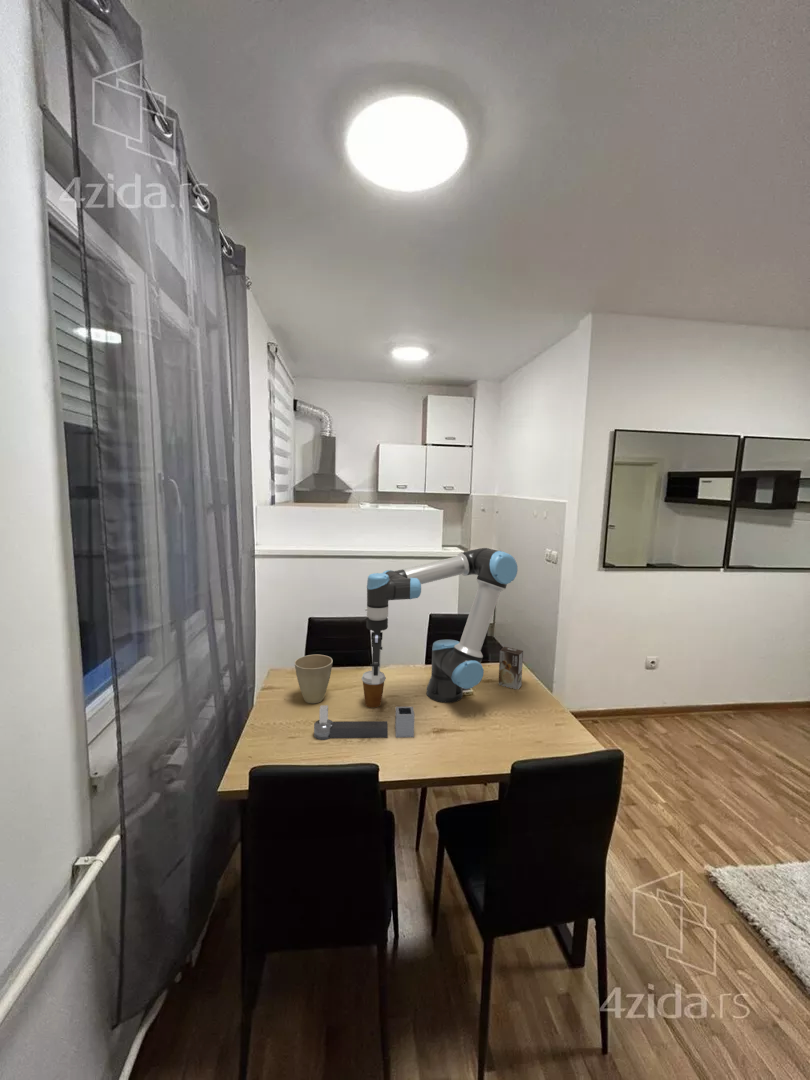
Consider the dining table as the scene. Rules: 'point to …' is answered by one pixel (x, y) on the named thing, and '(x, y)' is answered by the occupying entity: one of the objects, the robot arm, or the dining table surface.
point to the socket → (404, 722)
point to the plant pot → (313, 676)
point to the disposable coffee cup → (372, 689)
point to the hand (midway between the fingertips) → (376, 675)
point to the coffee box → (510, 667)
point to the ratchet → (347, 728)
